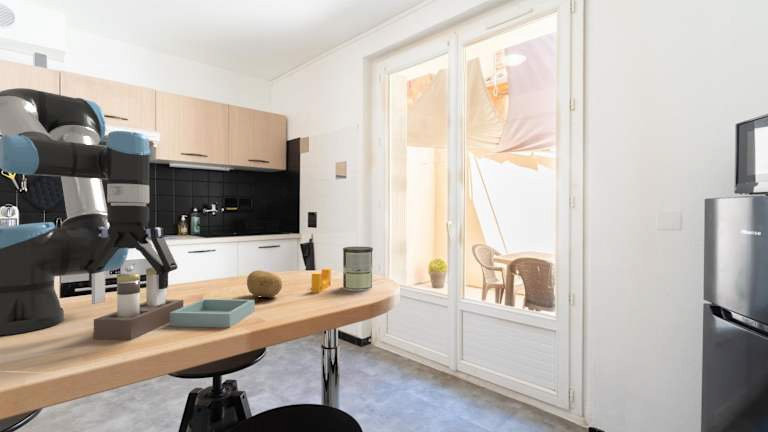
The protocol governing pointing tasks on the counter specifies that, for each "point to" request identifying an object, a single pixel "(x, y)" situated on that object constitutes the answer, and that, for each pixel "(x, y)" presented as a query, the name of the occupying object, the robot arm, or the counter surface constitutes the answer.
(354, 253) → the coffee can
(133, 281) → the fuse
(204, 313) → the parts tray
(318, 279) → the pipe clamp
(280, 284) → the potato
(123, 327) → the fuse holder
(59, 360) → the counter surface
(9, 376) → the counter surface
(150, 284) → the fuse
